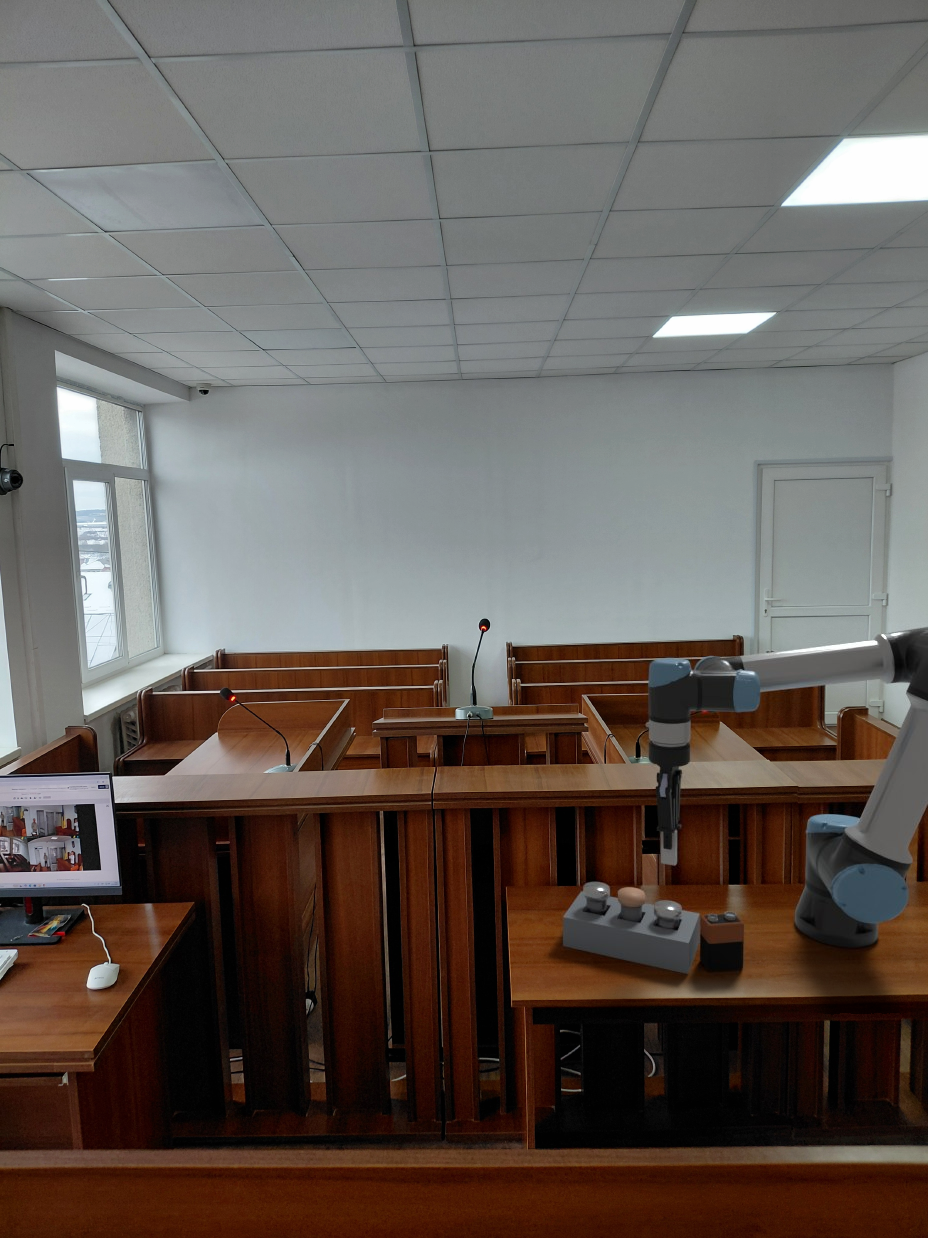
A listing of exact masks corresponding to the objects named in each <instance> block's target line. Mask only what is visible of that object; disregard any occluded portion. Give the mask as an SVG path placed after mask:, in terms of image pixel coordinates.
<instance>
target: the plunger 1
mask: <svg viewBox="0 0 928 1238" xmlns="http://www.w3.org/2000/svg"><path fill="white" fill-rule="evenodd" d="M582 888H583V895H584V897H585V898H586V912H588V913H593V914H598V915H603V916H605V914H606V913H607V899H608V898H609V897H611V893H610V892H611V889H610V888H611V887H610V886H609V885H608V884H606V883H605V882H600V881H590V882H586V883H585V884H583V886H582Z"/></svg>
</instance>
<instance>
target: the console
mask: <svg viewBox="0 0 928 1238" xmlns="http://www.w3.org/2000/svg"><path fill="white" fill-rule="evenodd" d="M700 918H701V914H700V913H699V912H693V911H690V910H683V909H682V917H681V918H680V919H679V923H678V931H677V930H672V929H667V928H662V927H657V917H656V916H655V915H654V904H651V903H646V902H645V904H644V905H642V921H641V923H638V922H633V921H628V920H623V919H621V904H620V903H619V902H618V897H614V896H610V897H609V898H608V899H607V913H606V914H605V916H603V915H598V914H593V913H588V912H586V898H585V897H584V895H583V891H582V890H581V891H580V892H579V894H578V895H577V896H576V898H575V899H574V901H573V903H571V905H570V907H569V908H568V909H567V911H566V912H565V914H563V916H562V947H566V948H570V949H575V950H579V951H583V952H587V953H588V952H589V953H592V954H597V955H601V956H606V957H610V958H615V959H618V960H623V961H627V962H632V963H637V964H641V965H647V966H651V967H655V968H659V969H664V970H667V971H668V970H669V971H673V972H677V973H680V974H681V973H682V974H687V975H689V974H690V971H691V968H692V965H693V962H694V960H695V957H696V954H697V952H698V951H697V950H698V947H699V946H700Z"/></svg>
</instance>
